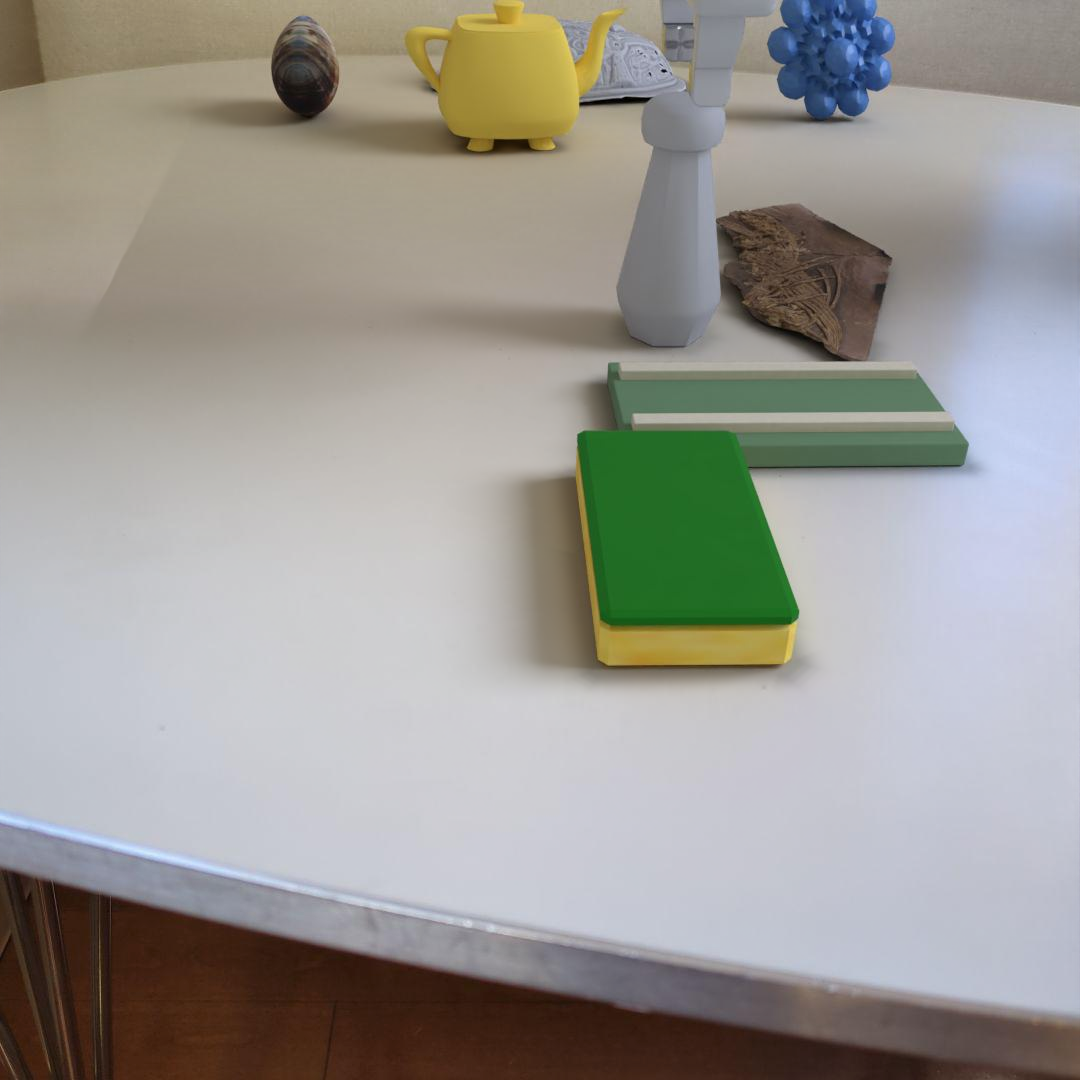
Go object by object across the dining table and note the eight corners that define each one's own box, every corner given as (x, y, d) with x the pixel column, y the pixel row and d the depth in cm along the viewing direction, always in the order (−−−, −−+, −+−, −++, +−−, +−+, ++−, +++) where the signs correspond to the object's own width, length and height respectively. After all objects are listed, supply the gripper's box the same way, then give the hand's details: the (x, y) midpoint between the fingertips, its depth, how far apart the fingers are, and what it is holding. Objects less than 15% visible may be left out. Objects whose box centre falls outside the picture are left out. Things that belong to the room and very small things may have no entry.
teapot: (608, 119, 107) (615, -11, 101) (633, 155, 98) (642, 13, 92) (405, 122, 105) (400, -11, 99) (411, 159, 96) (406, 14, 90)
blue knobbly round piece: (771, 133, 105) (789, -17, 98) (751, 112, 111) (768, -31, 104) (900, 132, 106) (927, -16, 99) (874, 112, 112) (898, -30, 105)
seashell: (284, 101, 110) (275, 7, 106) (347, 102, 111) (341, 8, 106) (268, 129, 102) (258, 28, 98) (335, 130, 103) (328, 29, 98)
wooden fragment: (712, 208, 87) (714, 193, 86) (866, 215, 86) (869, 200, 86) (733, 361, 66) (735, 343, 65) (938, 373, 65) (942, 355, 64)
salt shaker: (665, 363, 65) (687, 117, 58) (593, 329, 69) (604, 93, 62) (736, 335, 69) (765, 99, 61) (663, 304, 72) (682, 77, 65)
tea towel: (905, 381, 64) (912, 351, 63) (964, 466, 57) (972, 433, 56) (606, 382, 63) (608, 351, 62) (626, 468, 56) (628, 435, 55)
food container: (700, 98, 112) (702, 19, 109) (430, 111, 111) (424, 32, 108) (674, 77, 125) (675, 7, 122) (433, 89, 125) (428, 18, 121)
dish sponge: (597, 668, 44) (601, 615, 42) (574, 474, 55) (576, 428, 54) (792, 667, 44) (802, 614, 43) (729, 474, 55) (735, 428, 54)
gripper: (847, -240, 45) (800, 135, 53) (741, -247, 62) (718, 38, 70) (680, -241, 45) (658, 137, 53) (620, -248, 62) (609, 39, 70)
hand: (691, 80), depth 61 cm, fingers open, 8 cm apart
